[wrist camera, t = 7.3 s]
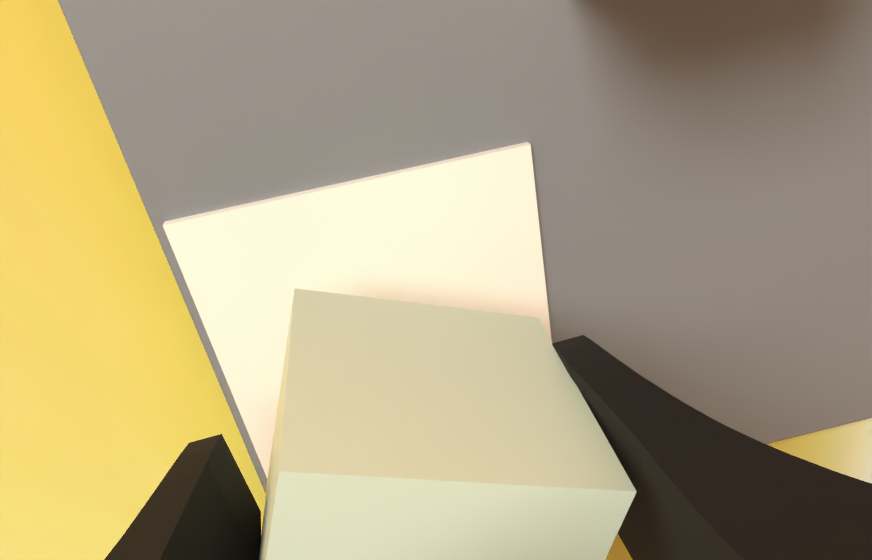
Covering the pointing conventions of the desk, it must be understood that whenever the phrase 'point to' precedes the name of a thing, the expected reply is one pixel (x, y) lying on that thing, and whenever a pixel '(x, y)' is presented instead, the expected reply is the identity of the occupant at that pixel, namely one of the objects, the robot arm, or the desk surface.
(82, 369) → the desk surface
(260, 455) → the plate
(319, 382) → the sage brick
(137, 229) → the desk surface
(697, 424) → the robot arm
